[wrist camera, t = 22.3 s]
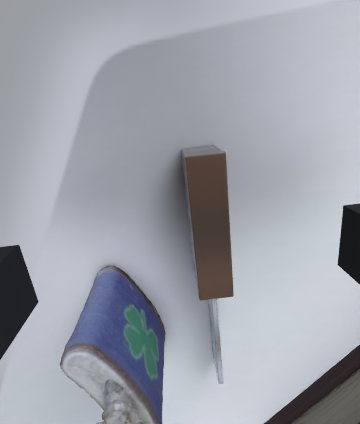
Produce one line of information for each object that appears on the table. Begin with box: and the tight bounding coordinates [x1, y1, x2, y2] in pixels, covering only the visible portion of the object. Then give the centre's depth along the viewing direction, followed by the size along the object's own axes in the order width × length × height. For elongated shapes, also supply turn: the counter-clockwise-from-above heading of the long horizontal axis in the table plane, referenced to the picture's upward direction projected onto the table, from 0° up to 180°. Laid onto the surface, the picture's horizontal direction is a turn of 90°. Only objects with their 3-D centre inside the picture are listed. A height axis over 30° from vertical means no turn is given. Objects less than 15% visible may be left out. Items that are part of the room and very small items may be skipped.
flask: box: [60, 266, 165, 424], centre depth 20 cm, size 9×3×11 cm, turn 28°
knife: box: [181, 145, 233, 384], centre depth 22 cm, size 20×2×4 cm, turn 6°
